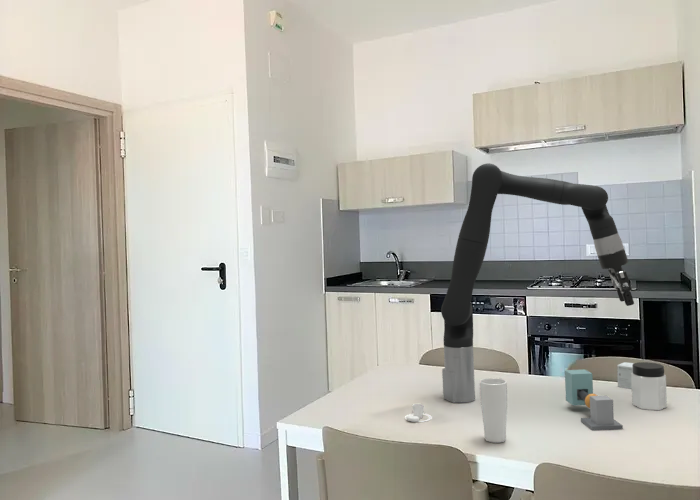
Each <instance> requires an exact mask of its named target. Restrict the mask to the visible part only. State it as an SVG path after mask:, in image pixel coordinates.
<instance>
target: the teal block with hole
mask: <svg viewBox="0 0 700 500" xmlns="http://www.w3.org/2000/svg"><path fill="white" fill-rule="evenodd" d="M593 377H594V376H593V373H592V372H590V371H589V370H588V369H565V370H564V381H565V382H564V384H565V386H564V388H565V401H566V402H567V403H568V404H570V405H571V406H586V404H585V401H584V400H582V399H581V398H579V397H578V396H577V389H582V390H584V391H585V392H587V393H589V394H594V385H593V384H594V383H593V382H594V380H593Z"/></svg>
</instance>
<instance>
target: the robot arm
mask: <svg viewBox="0 0 700 500" xmlns="http://www.w3.org/2000/svg"><path fill="white" fill-rule="evenodd" d="M498 195H508V196H509V195H510V196H517V197H522V198H527V199H532V200H536V201H541V202H546V203H550V204H555V205H556V204H557V205H562V206H574V207H580V208H581V210H582V212H583V215H584V217H585V220H586V221H587V223H588V226H589V230H590V234H591V236H592V239H593V245H594V249H595V252H596V255H597V258H598V262H599V265H600V267H601V269H602V270H608V273H609V277H610V279H611V283H612V286H613V287H614V289H615V290H616V292H617V296H618V299H619V301H620V302H624V304H625V306H628V307H629V306H632V305H634V304H635V301H634V298H633V296H632V295H633V294H632V291H633V289H632V286H631V283H630V279H629V278H628V277H629V276H628V273H627V271H626V269H625V270H624V269H623V267H622V266H625V265H626V264H628V263H629V260H628V255H627V252H626V250H625V247H624V244H623V241H622V238H621V237H620V234H619V232H618V228H617V225H616V222H615V220H614V218H613V216H611V215H610V213H609V209H608V208H607V203H608V200H609V196H608V192H607V191H606V189H604V188H603V187H601V186H598V185H592V184H582V183H573V182H569V181H565V180H559V179H552V178H546V177H535V176H534V177H533V176H522V175H518V174H512V173H509V172H505V171H503V170H501V169H500V167H498V166H497V165H495V164H493V163H482V164H480V165H479V166H478V167H477V168H475V170H474V172H473V174H472V176H471V188H470V197H469V202H468V206H467V210H466V213H465V215H464V219H463V220H462V224H461V227H460V230H459V233H458V237H457V242H456V245H455V246H456V247H455V250H454V257H453V263H452V268H451V269H452V270H451V275H450V276H451V277H450V282H449V285H448V288H447V291H446V294H445V297H444V300H443V302H442V305H441V309H440V311H441V317H442V318H443V322H444V324H443V325H444V330H443V331H444V332H443V356H444V357H443V358H444V363H443V364H444V368H442V370H441V371H442V372H441V374H442V375H441V377H442V397H443V399H444V400H447V401H448V402H450V403H453V404H454V403H471V402H474V401H475V400H476V386H475V385H476V384H475V383H476V382H475V363H474V361H475V360H474V359H475V357H474V315H473V314H474V313H473V310H474V309H473V305H472V297H473V292H474V287H475V283H476V280H477V279H478V275H479V273H480V270H481V269H482V266H483V263H484V259H485V257H486V252H487V249H488V244H489V238H490V233H491V224H492V214H493V210H494V206H495V202H496V199H497V197H498Z"/></svg>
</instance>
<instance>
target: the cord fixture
mask: <svg viewBox="0 0 700 500" xmlns="http://www.w3.org/2000/svg"><path fill="white" fill-rule="evenodd" d="M577 396H578V397H579V398H581V399H582V400H584V401H585V404H586V405H585V406H586V407H587V408H588V409H589V411H590V412H589V413H590V417H580V422H581V424H583V425H584V426H586V427H587V428H588V429H590V430H591V431H607V430H608V431H611V430H624V425H623V424H622V423H620V422H618V421H617V420H615V418H614V417H615V415H614V414H615V413H614V399H613V398H611V397H610V396H608V395H599V394H596V393H593V394H589V393H587V392H585V391H584V390H582V389H577Z"/></svg>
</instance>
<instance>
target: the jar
mask: <svg viewBox="0 0 700 500" xmlns="http://www.w3.org/2000/svg"><path fill="white" fill-rule="evenodd" d="M633 363H634V364H633V365H632V366H633V373H631V385H632V389H631V404H632V405H633V406H634V407H636V406H637V408H639V409H640V410H648V411H649V410H650V411H662V410H663V408H664V409H666V408H667V407H668V400H667V399H668V398H667V397H668V395H667V375H666V374H665V367H664V365H663V364H660V363H657V362H643V361H642V362H641V361H640V362H633Z"/></svg>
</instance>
